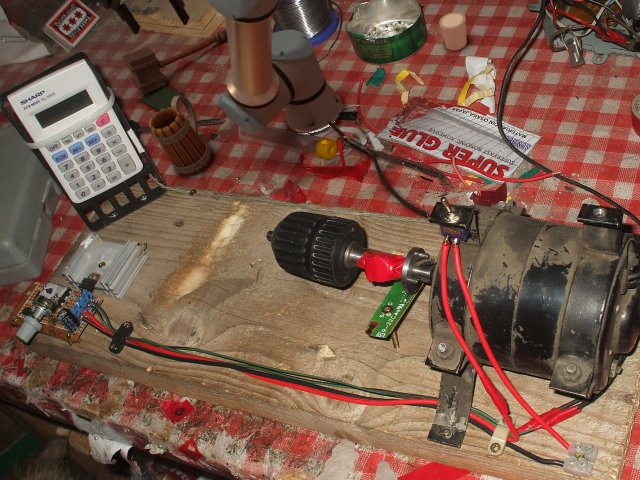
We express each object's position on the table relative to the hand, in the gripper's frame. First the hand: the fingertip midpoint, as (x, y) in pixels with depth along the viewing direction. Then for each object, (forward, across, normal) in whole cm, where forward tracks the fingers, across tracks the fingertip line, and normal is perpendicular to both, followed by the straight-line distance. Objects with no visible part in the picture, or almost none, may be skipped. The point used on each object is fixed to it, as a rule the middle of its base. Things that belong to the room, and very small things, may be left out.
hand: (162, 26), depth 150 cm
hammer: (+28, +18, -25) cm, 42 cm away
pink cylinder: (+31, -65, -17) cm, 74 cm away
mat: (+28, +22, -11) cm, 38 cm away
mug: (+29, +3, +14) cm, 32 cm away
